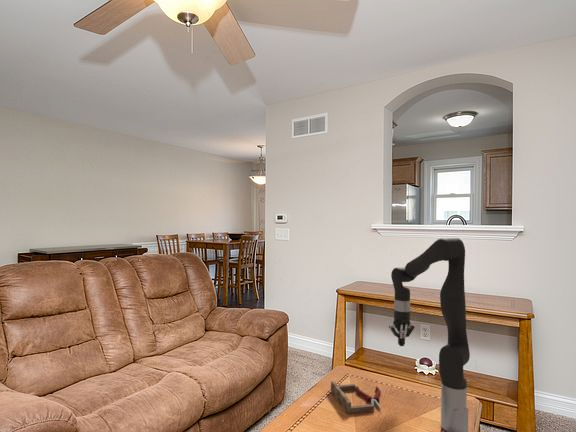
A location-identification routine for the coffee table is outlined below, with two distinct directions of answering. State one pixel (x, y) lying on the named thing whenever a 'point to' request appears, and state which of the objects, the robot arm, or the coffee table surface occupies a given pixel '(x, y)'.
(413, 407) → the coffee table surface
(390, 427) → the coffee table surface
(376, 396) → the pliers
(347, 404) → the tool rest
